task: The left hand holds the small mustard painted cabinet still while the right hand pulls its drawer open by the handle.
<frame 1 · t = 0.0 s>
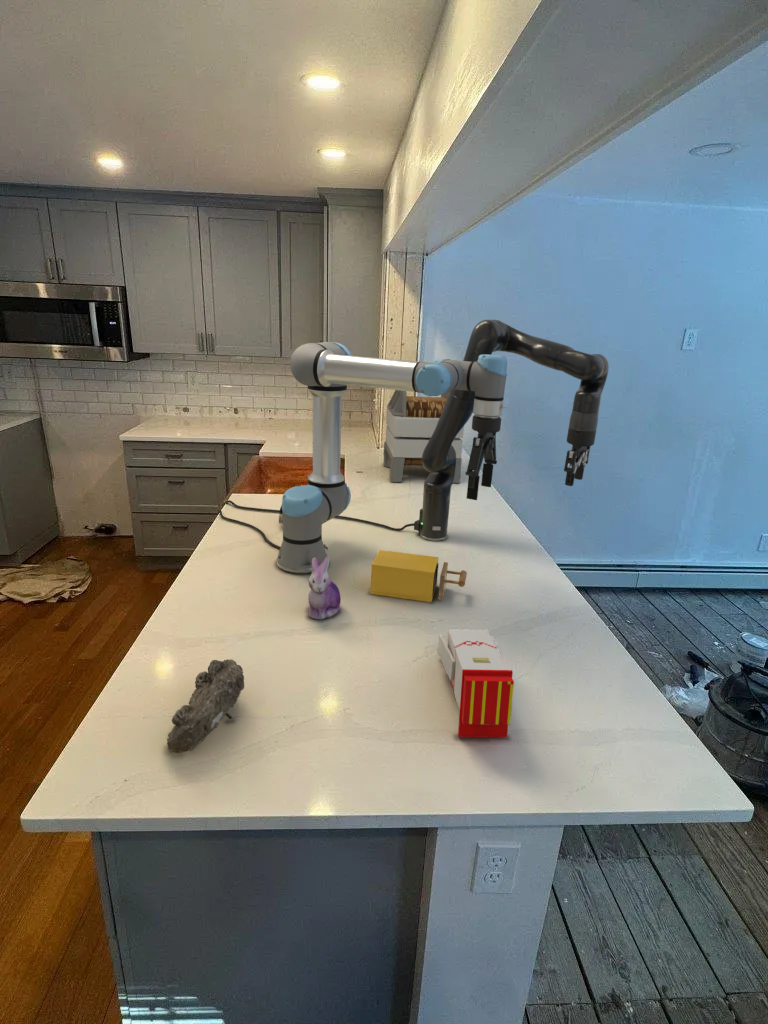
left hand: (479, 492, 156), 28 cm above the counter, tool pointing down, fingers open, 13 cm apart
right hand: (573, 482, 165), 29 cm above the counter, tool pointing down, fingers open, 8 cm apart
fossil: (212, 717, 108), on the counter
figurine character: (290, 523, 205), on the counter
drawer: (426, 578, 158), point 5 cm above the counter, slide at 1.7 cm
figurine: (323, 611, 147), on the counter
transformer: (419, 473, 275), on the counter
cabinet: (403, 589, 160), on the counter
toy: (469, 691, 119), on the counter
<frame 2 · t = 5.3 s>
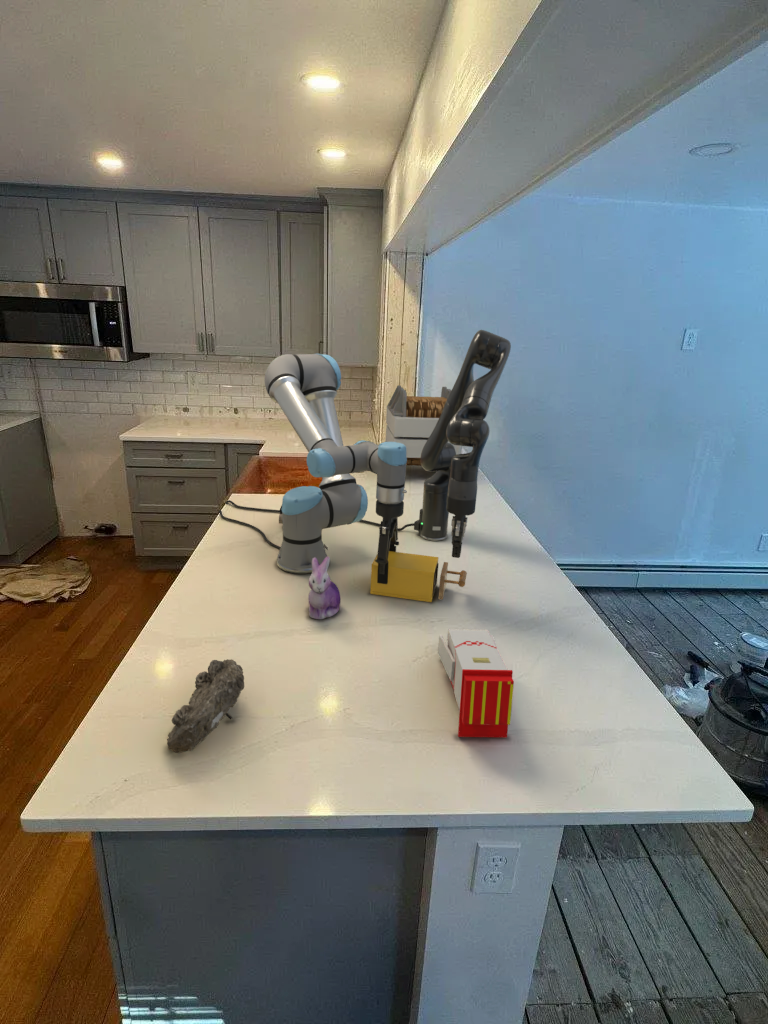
left hand: (386, 574, 160), 4 cm above the counter, tool pointing down, fingers closed on cabinet, 10 cm apart
right hand: (456, 554, 154), 13 cm above the counter, tool pointing down, fingers closed
cabinet: (403, 589, 160), on the counter, touching left hand
everything else where it was.
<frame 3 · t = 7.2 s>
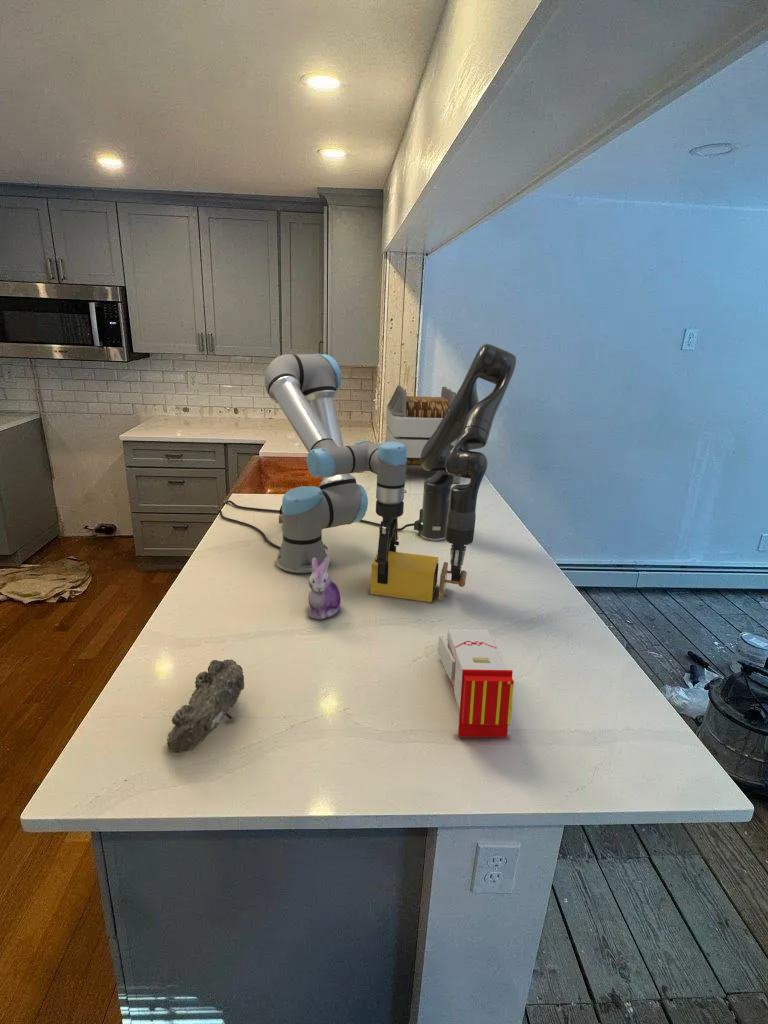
left hand: (386, 574, 160), 4 cm above the counter, tool pointing down, fingers closed on cabinet, 10 cm apart
right hand: (455, 582, 156), 4 cm above the counter, tool pointing down, fingers closed
drawer: (426, 578, 158), point 5 cm above the counter, slide at 1.7 cm, touching right hand
cabinet: (403, 589, 160), on the counter, touching left hand
everything else where it was.
when the left hand's fingers open (4 cm above the counter, at t = 10.3 s): cabinet stays where it is, on the counter.
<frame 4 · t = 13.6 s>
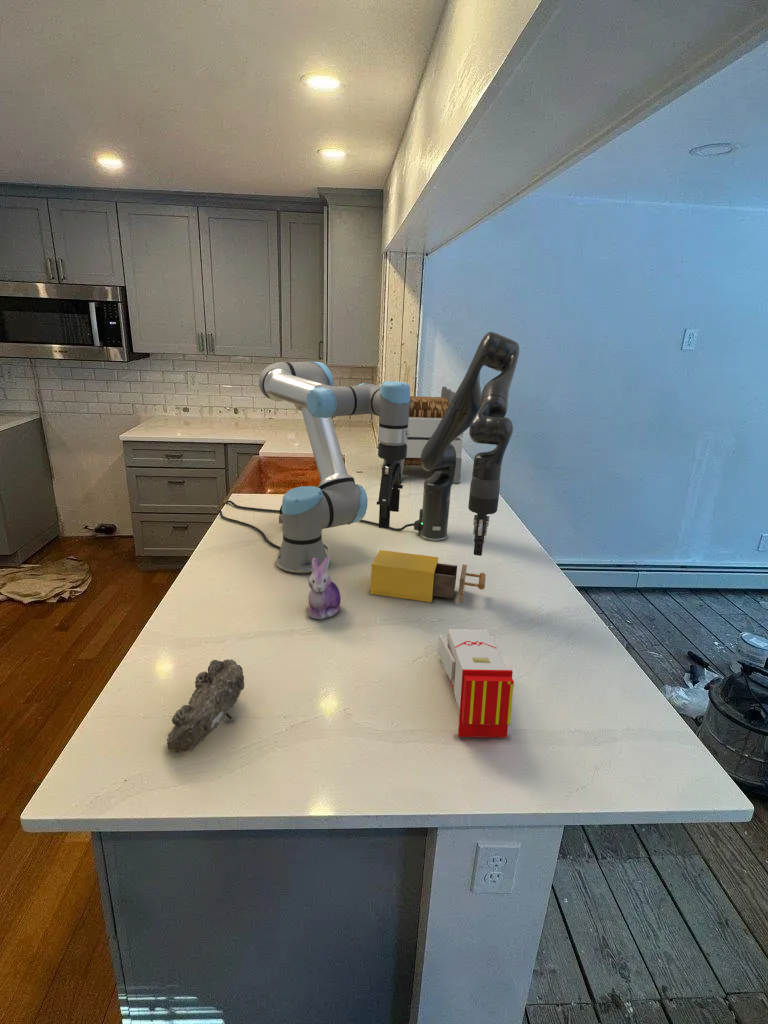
left hand: (389, 519, 154), 21 cm above the counter, tool pointing down, fingers open, 13 cm apart
right hand: (477, 554, 152), 14 cm above the counter, tool pointing down, fingers closed
drawer: (445, 580, 157), point 4 cm above the counter, slide at 7.0 cm
cabinet: (403, 589, 160), on the counter
everything else where it was.
at the end: drawer slide at 7.0 cm; cabinet tilted 0°; cabinet never tilted more than 1° during the clip; cabinet moved 0.0 cm from its start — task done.
